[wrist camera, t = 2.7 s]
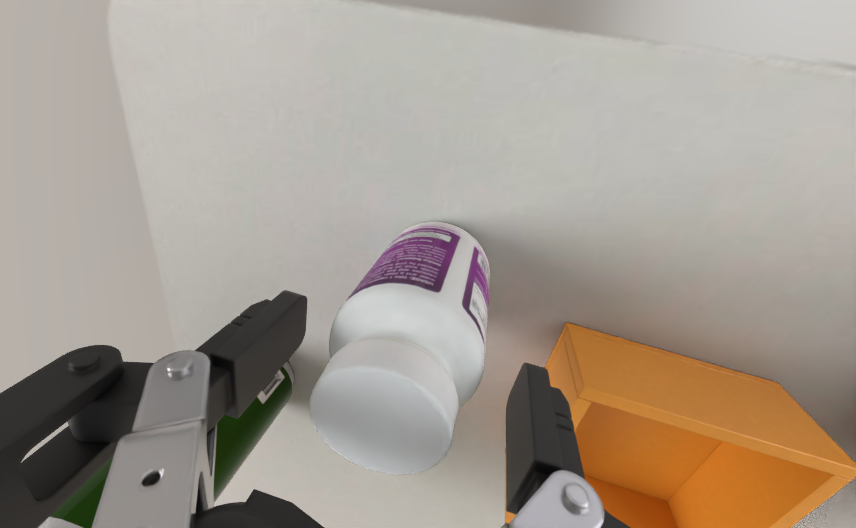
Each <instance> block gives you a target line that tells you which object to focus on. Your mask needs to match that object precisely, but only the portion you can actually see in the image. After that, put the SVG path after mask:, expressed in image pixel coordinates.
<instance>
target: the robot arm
mask: <svg viewBox="0 0 856 528" xmlns="http://www.w3.org/2000/svg"><path fill="white" fill-rule="evenodd" d="M306 315H307V298H306V296H303V295H300V294H297V293H293V292H290V291H286V290H285V291H283V292H281V293H280V294H279V295H278V296H277V297H275V298H274V299H273V300H272V301H270V300H267V299H266V300H264V301H261V302H259V303H256V304H254V305H251V306H250V307H249V308H248V309H246V310H245V311H244V312H243V313H241V314H240V316H238V317H236V318H235V319H234V320H233V321H231V323H229V324H228V325H226V326H225V327H224V328H223V329H221V330H220V331H219V332H218V333H216V334H215V335H214V336H213V337H211V338H210V339H209V340H208V341H206V342H205V343H204V344H203V345H201V346H200V347H199V348H198V349H196V350H195V351H191V350H187V351H179V352H175V353H172V354H169V355H167V356H165V357H163V358H161V359H159V360H158V361H157V362H155V363H141V362H140V363H139V362H123V360H122V357H121V353H120V351H119V350H118V349H116V348H114V347H112V346H108V345H94V346H88V347H83V348H79V349H76V350H74V351H71V352H69V353H67V354H65V355H63V356H61V357H59V358H58V359H56V360H55V361H53V362H51V363H50V364H48V365H46V366H45V367H43V368H41V369H40V370H38V371H36V372H35V373H33V374H31V375H30V376H28V377H26V378H25V379H23V380H22V381H20V382H18V383H17V384H15V385H14V386H12V387H10V388H8V389H7V390H5V391H3V392H2V393H0V528H38V527H39V526H40V525H41V524H42V523H43V522H44V521H45V520H46V519H47V518H49V517H50V516H51V515H52V514H53V513H54V512H55V511H56V510H57V509H58V508H59V507H60V506H61V505H62V504H63V503H64V502H65V501H66V500H67V499H68V498H69V497H70V496H72V495H73V494H74V493H75V492H76V491H77V490H78V489H79V488H80V487H81V486H82V485H83V484H84V483H85V482H86V481H87V480H88V479H89V478H90V477H91V476H92V475H93V474H95V473H96V472H97V471H98V470H99V469H100V468H101V467H102V466H103V465H104V464H105V463H106V462H107V461H108V460H109V459H110V458H111V457H112V456H113V455H114V457H113V460H112V463H111V466H110V470H109V473H108V476H107V479H106V483H105V486H104V489H103V492H102V496H101V499H100V502H99V505H98V508H97V512H96V515H95V518H94V521H93V525H92V528H324V527H323V526H321V525H320V524H319V523H317V522H316V521H315V520H314V519H312V518H311V517H310V516H308V515H307V514H306V513H305V512H303V511H302V510H301V509H299V508H298V507H297V506H296V505H294V504H293V503H291V502H289V501H286V500H283V499H280V498H277V497H275V496H272V495H269V494H266V493H263V492H261V491H258V490H255V489H254V490H253V492H252V493H251V495H250V496H249V498H248V499H247V501H246V502H237V503H229V504H224V505H219V506H216V507H214V471H215V455H216V439H217V423H218V422H219V421H220V419H221V418H222V417H223V416H224V415H228V416H231V417H234V418H236V419H238V418H239V417H240V416H241V415H242V414H243V412H244V411H245V410H246V409H247V408H248V406H249V405H250V404H251V403H252V402H253V401H254V399H255V398H256V397H257V396H258V395H259V393H260V392H261V391H262V390H263V389H264V388H265V386H266V385H267V384H268V383H269V382H270V380H271V379H272V378H273V377H274V376H275V375H276V373H277V372H278V371H279V370H280V369H281V367H282V366H283V365H284V364H285V363H286V361H287V360H288V359H289V358H290V357H291V356H292V354H293V353H294V352H295V351H296V350H297V348H298V347H299V346H300V344H301V343H302V341H303V338H304V335H305V331H306ZM66 422H68V424H69V426H68V427H66V428H65V429H64V430H63V431H61V432H60V433H59V434H57V435H56V436H55V437H53V438H52V439H51V440H50V441H48V442H47V443H46V444H45V445H43V446H42V447H41V448H39V449H38V450H37V451H36V452H34V453H33V454H32V455H31V456H29V457H28V458H27V459H25V460H24V461H23V462H22V463H21V461H22V459H23V458H24V457H25V455H26V454H27V453H28V452H29V451H30V450H31V449H32V448H33V447H34V446H36V445H37V444H38V443H40V442H41V441H42V440H43V439H45V438H46V437H47V436H49V435H50V434H51V433H52V432H54V431H55V430H56V429H58V428H59V427H60V426H62V425H63V424H64V423H66ZM506 511H507V512H510V513H513V514H516V516H515V517H514V518H513V519H512V520H511V521H510V522H509V523H505V524H504V525H503V526H502V527H501V528H631V527H629V526H627V525H626V524H624V523H623V522H621V521H620V520H618V519H617V518H615V517H614V516H612V515H611V514H610V513H608V512H607V511H606V510H605V509H604V508H603V504H602V502H601V499H600V497H599V496H598V494H597V493H596V491H595V490H594V489H593V487H592V486H591V485H590V484H589V483H588V482H587V481H586V480H585V477H584V472H583V467H582V463H581V458H580V453H579V449H578V444H577V439H576V434H575V432H574V425H573V420H572V415H571V411H570V406H569V403H568V401H567V399H566V398H565V396H564V395H563V393H562V391H561V390H560V389H558V388H555V387H551V385H550V379H549V373H548V370H547V369H545V368H542V367H539V366H535V365H532V364H529V363H524V364H523V365H522V367H521V369H520V372H519V374H518V376H517V379H516V381H515V383H514V385H513V388H512V390H511V392H510V395H509V398H508V402H507V407H506Z"/></svg>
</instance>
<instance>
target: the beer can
mask: <svg viewBox="0 0 856 528" xmlns="http://www.w3.org/2000/svg"><path fill="white" fill-rule="evenodd" d="M293 385H294V374H293V371H292V368H291V366H290V364H289V363H288V362H287V361H286V363H285V364H284V365H283V366H282V367H281V369H280V370H279V371H278V372H277V373H276V375H275V376H274V377H273V378H272V379H271V380H270V382H269V383H268V384H267V385H266V386H265V388H264V389H263V390H262V391H261V392H260V393H259V395H258V396H257V397H256V398H255V399H254V401H253V402H252V403H251V404H250V405H249V406H248V408H247V409H246V410H245V411H244V412H243V414H242V415H241V416H240V417H239V418H238V419H236V418H234V417H231V416H228V415H224V416H223V417H222V418H221V419H220V421H219V422H218V423H217V439H216V455H215V471H214V502H215V501H216V500H217V498H218V497H219V495H220V494H221V493H222V491H223V490H224V489H225V487H226V486H227V484H228V483H229V482H230V480H231V479H232V477H233V476H234V475H235V473H236V472H237V471H238V469H239V468H240V466H241V465H242V464H243V462H244V461H245V460H246V458H247V457H248V455H249V454H250V453H251V451H252V450H253V448H254V447H255V446H256V444H257V443H258V442H259V440H260V439H261V437H262V436H263V435H264V433H265V432H266V431H267V429H268V428H269V426H270V425H271V424H272V422H273V421H274V420H275V418H276V417H277V415H278V414H279V413H280V411H281V410H282V408H283V407H284V406H285V404H286V403H287V402H288V400H289V398H290V396H291V394H292V391H293ZM113 457H114V455H113V456H112V457H111V458H110V459H109V460H108V461H107V462H106V463H105V464H104V465H103V466H102V467H101V468H100V469H99V470H98V471H97V472H96V473H95V474H93V475H92V476H91V477H90V478H89V479H88V480H87V481H86V482H85V483H84V484H83V485H82V486H81V487H80V488H79V489H78V490H77V491H76V492H75V493H74V494H73V495H72V496H70V497H69V498H68V499H67V500H66V501H65V502H64V503H63V504H62V505H61V506H60V507H59V508H58V509H57V510H56V511H55V512H54V513H53V514H52V515H51V516H50V517H49V518H47V519H46V520H45V521H44V522H43V523H42V524H41V525H40V526H39V527H38V528H92V525H93V521H94V518H95V515H96V512H97V508H98V505H99V502H100V499H101V496H102V492H103V489H104V486H105V483H106V479H107V476H108V473H109V470H110V466H111V463H112V460H113Z"/></svg>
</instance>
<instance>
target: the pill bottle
mask: <svg viewBox="0 0 856 528" xmlns="http://www.w3.org/2000/svg"><path fill="white" fill-rule="evenodd" d="M489 286H490V269H489V263H488V260H487V257H486V255H485V253H484V251H483V249H482V247H481V246H480V244H479V243H478V242H477V240H476V239H475V238H474V237H472V236H471V235H470V234H469V233H468V232H466V231H465V230H463V229H461V228H459V227H457V226H455V225H451V224H448V223H444V222H436V221H432V222H424V223H420V224H416V225H413V226H411V227H409V228H407V229H405V230H404V231H403V232H401V233H400V234H399V235H398V236H397V237H396V238H395V239H394V240H393V241H392V243H391V244H390V245H389V246H388V248H387V249H386V250H385V251H384V253H383V254H382V255H381V257H380V258H379V259H378V260H377V262H376V263H375V264H374V265H373V267H372V268H371V269H370V271H369V272H368V273H367V274H366V276H365V277H364V278H363V279H362V281H361V282H360V284H359V285H358V286H357V288H356V289H355V290H354V291H353V293H352V294H351V295H350V296H349V298H348V299H347V301H346V302H345V303H344V304H343V306H342V307H341V308H340V309H339V311H338V313H337V315H336V318H335V320H334V322H333V325H332V328H331V332H330V339H329V351H330V358H331V359H330V361H329V362H328V364H327V366H326V367H325V369H324V371H323V373H322V374H321V376H320V378H319V379H318V381H317V383H316V385H315V386H314V388H313V391H312V393H311V396H310V402H309V410H310V415H311V419H312V422H313V425H314V426H315V428H316V430H317V432H318V433H319V435H320V436H321V438H322V439H323V440H324V441H325V442H326V443H327V444H328V445H329V446H330V447H331V448H332V449H333V450H334V451H336V452H337V453H338V454H340V455H341V456H342V457H344V458H345V459H347V460H349V461H350V462H352V463H354V464H356V465H358V466H361V467H363V468H366V469H369V470H372V471H376V472H380V473H385V474H393V475H407V474H413V473H418V472H422V471H425V470H428V469H430V468H431V467H433V466H434V465H436V464H438V463H439V462H440V461H441V460H442V459H443V458H444V457H445V455H446V454H447V452H448V450H449V448H450V445H451V441H452V436H453V431H454V426H455V421H456V418H457V415H458V409H459V408H460V407H462V406H463V405H464V404H465V403H466V402H467V401H468V400H469V399H470V398H471V397H472V395H473V394H474V392H475V391H476V389H477V387H478V385H479V383H480V380H481V377H482V373H483V368H484V363H485V346H486V331H487V315H488V301H489Z"/></svg>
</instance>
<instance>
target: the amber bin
mask: <svg viewBox="0 0 856 528" xmlns="http://www.w3.org/2000/svg"><path fill="white" fill-rule="evenodd" d="M545 369H547V370H548V373H549V379H550V385H551V387H555V388H558V389H560V390H561V391H562V393H563V395H564V396H565V398H566V399H567V401H568V403H569V406H570V411H571V415H572V420H573V425H574V432H575V434H576V439H577V444H578V449H579V453H580V458H581V463H582V467H583V472H584V477H585V480H586V481H587V482H588V483H589V484H590V485H591V486H592V487H593V489H594V490H595V491H596V493H597V494H598V496H599V497H600V499H601V502H602V504H603V508H604V509H605V510H606V511H607V512H608V513H610V514H611V515H612V516H614V517H615V518H617V519H618V520H620V521H621V522H623V523H624V524H626V525H627V526H629V527H631V528H791V527H792V526H794V525H795V524H796V523H797V522H799V521H800V520H801V519H803V518H804V517H805V516H806V515H808V514H809V513H810V512H812V511H813V510H814V509H815V508H817V507H818V506H819V505H821V504H822V503H823V502H825V501H826V500H827V499H828V498H830V497H831V496H832V495H834V494H835V493H836V492H837V491H839V490H840V489H841V488H843V487H844V486H845V485H846V484H848V483H849V482H850V480H852V479H854V478H855V477H856V463H855V462H854V461H853V460H852V459H851V458H850V457H849V456H848V455H847V454H846V453H845V452H844V451H843V450H842V449H841V448H840V447H839V446H838V445H837V444H836V443H835V441H834V440H833V439H832V438H831V437H830V436H829V435H828V434H827V433H826V432H825V431H824V430H823V429H822V428H821V427H820V426H819V425H818V424H817V423H816V422H815V421H814V420H813V419H812V418H811V417H810V416H809V415H808V413H807V412H806V411H805V410H804V409H803V408H802V407H801V406H800V405H799V404H798V403H797V402H796V401H795V400H794V399H793V398H792V397H791V396H790V395H789V394H788V393H787V392H786V391H785V390H784V388H783V387H782V386H781V385H780V384H779V383H777V382H773V381H770V380H766V379H763V378H759V377H756V376H752V375H749V374H745V373H742V372H738V371H735V370H731V369H728V368H724V367H721V366H717V365H714V364H710V363H707V362H703V361H700V360H696V359H693V358H689V357H686V356H682V355H679V354H675V353H672V352H668V351H665V350H661V349H658V348H654V347H651V346H647V345H644V344H640V343H637V342H633V341H630V340H626V339H623V338H619V337H616V336H612V335H609V334H605V333H602V332H598V331H595V330H591V329H588V328H584V327H581V326H577V325H574V324H570V323H566V324H565V326H564V328H563V331H562V333H561V335H560V337H559V339H558V341H557V343H556V345H555V347H554V349H553V351H552V353H551V355H550V357H549V360H548V362H547V364H546V366H545ZM505 455H506V449H505ZM515 516H516V514H513V513H510V512H507V511H506V456H505V523H509V522H510V521H511V520H512V519H513V518H514V517H515Z"/></svg>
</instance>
